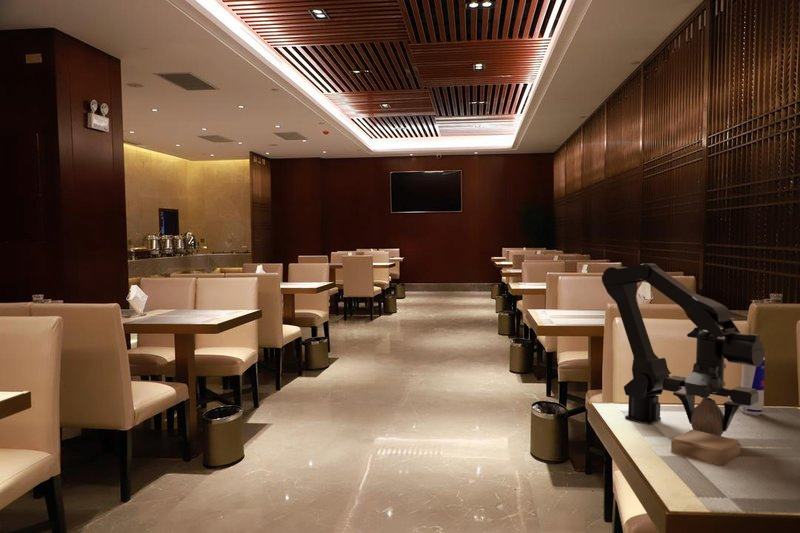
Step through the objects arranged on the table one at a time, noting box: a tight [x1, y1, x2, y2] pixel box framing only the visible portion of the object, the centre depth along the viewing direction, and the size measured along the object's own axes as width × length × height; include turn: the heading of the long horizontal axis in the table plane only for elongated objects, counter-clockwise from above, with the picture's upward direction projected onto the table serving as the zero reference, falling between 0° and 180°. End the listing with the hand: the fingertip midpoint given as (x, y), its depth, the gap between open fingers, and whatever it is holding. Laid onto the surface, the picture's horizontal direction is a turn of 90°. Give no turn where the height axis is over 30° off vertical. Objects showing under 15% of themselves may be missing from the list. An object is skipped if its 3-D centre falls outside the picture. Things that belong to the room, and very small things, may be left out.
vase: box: [690, 397, 725, 436], centre depth 135 cm, size 7×7×9 cm
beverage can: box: [740, 357, 766, 416], centre depth 155 cm, size 5×5×15 cm
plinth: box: [670, 429, 741, 467], centre depth 124 cm, size 10×10×3 cm
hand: (707, 427), depth 135 cm, fingers closed on vase, 7 cm apart
